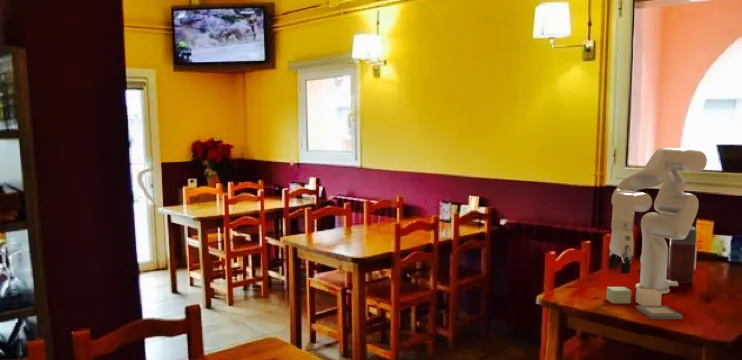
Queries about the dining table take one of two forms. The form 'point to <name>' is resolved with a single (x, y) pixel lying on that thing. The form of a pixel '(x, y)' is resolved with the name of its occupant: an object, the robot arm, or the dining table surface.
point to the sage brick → (618, 295)
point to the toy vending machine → (683, 258)
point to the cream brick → (648, 297)
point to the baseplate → (659, 312)
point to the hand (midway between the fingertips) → (619, 270)
